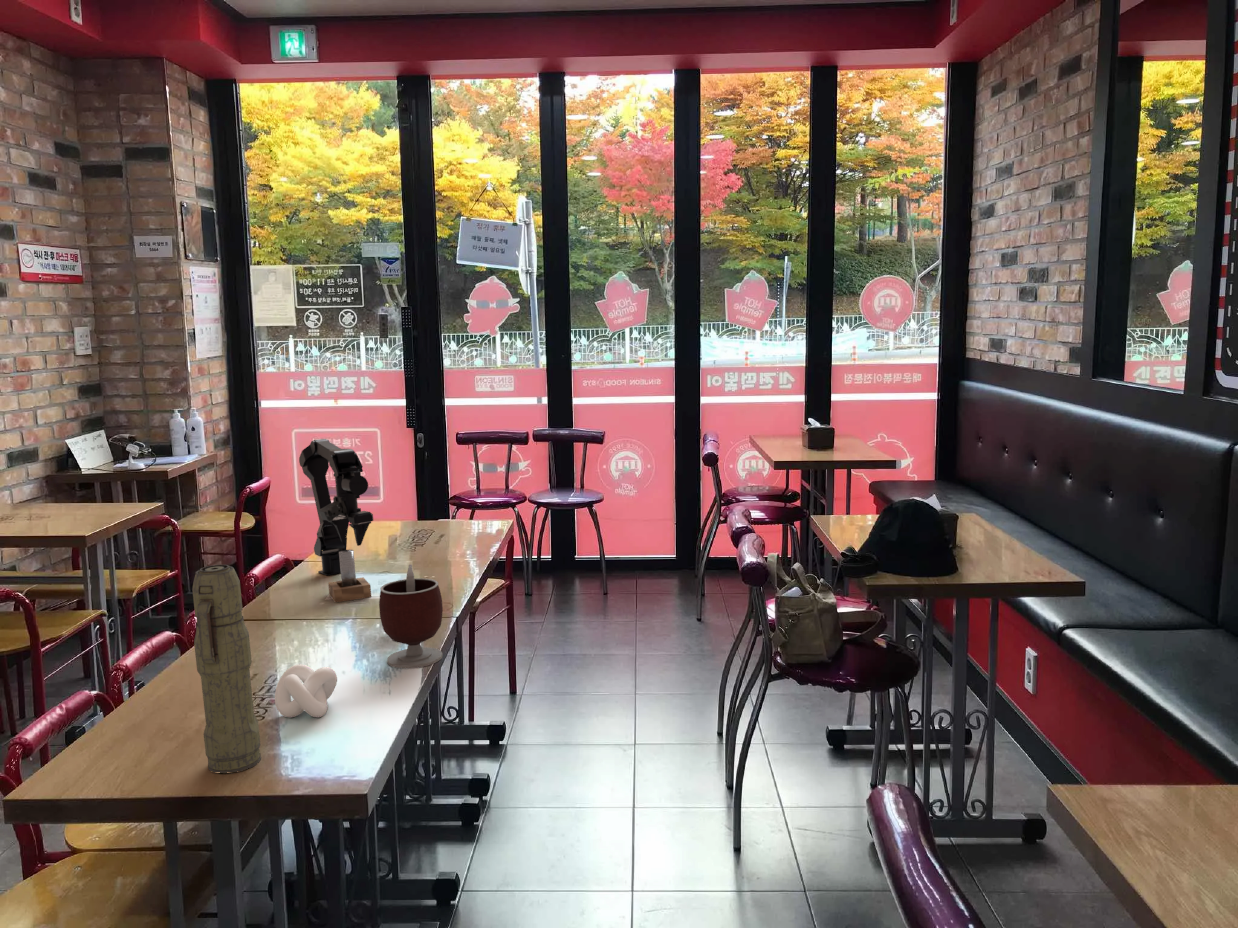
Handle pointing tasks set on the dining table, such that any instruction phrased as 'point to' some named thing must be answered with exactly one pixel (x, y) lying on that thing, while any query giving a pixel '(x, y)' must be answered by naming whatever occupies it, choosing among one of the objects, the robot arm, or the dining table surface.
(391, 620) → the mate gourd
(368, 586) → the socket block
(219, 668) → the thermos
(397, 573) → the dining table surface
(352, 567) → the pin
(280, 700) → the white knot
